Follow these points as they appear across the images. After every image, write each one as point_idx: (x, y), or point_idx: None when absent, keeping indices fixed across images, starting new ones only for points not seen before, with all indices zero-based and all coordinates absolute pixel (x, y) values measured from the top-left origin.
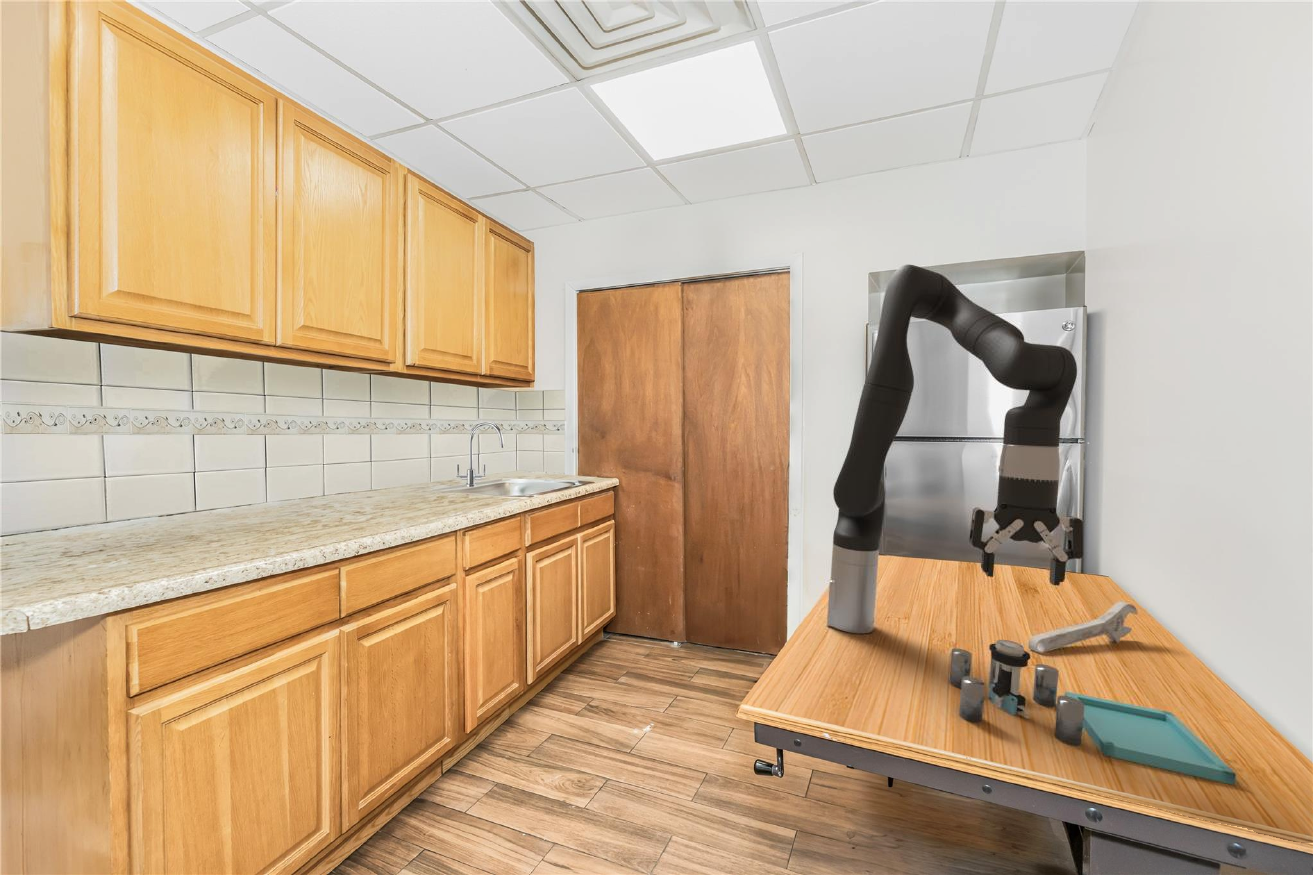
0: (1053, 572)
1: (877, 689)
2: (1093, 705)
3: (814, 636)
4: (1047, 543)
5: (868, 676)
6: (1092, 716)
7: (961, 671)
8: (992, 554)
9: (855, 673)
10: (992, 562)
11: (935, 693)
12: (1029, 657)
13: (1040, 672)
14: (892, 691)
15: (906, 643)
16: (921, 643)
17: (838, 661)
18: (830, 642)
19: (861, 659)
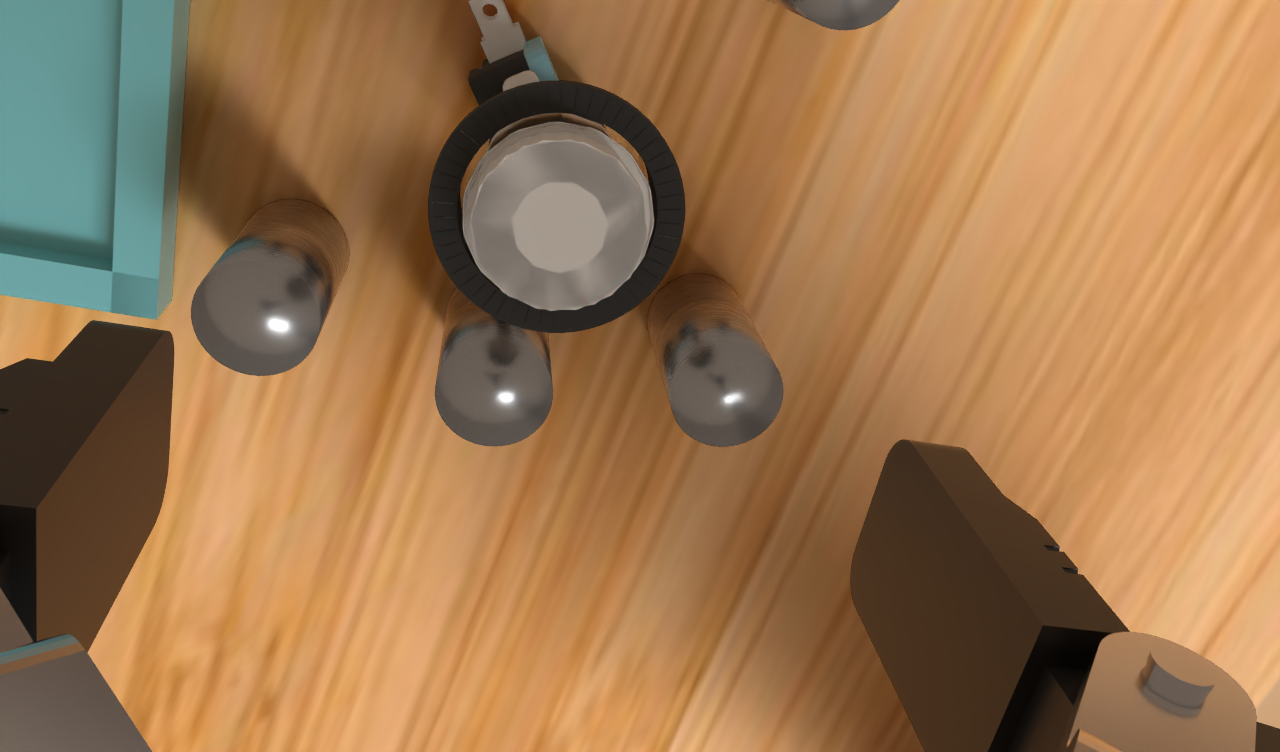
0: (114, 462)
1: (1175, 128)
2: (37, 245)
3: (1257, 634)
4: (120, 727)
5: (1160, 265)
6: (96, 111)
7: (726, 307)
8: (1066, 623)
9: (1217, 279)
10: (999, 540)
11: (872, 174)
12: (456, 129)
13: (309, 281)
14: (1102, 129)
15: (791, 705)
16: (708, 730)
17: (1250, 389)
18: (1201, 593)
19: (1115, 449)
